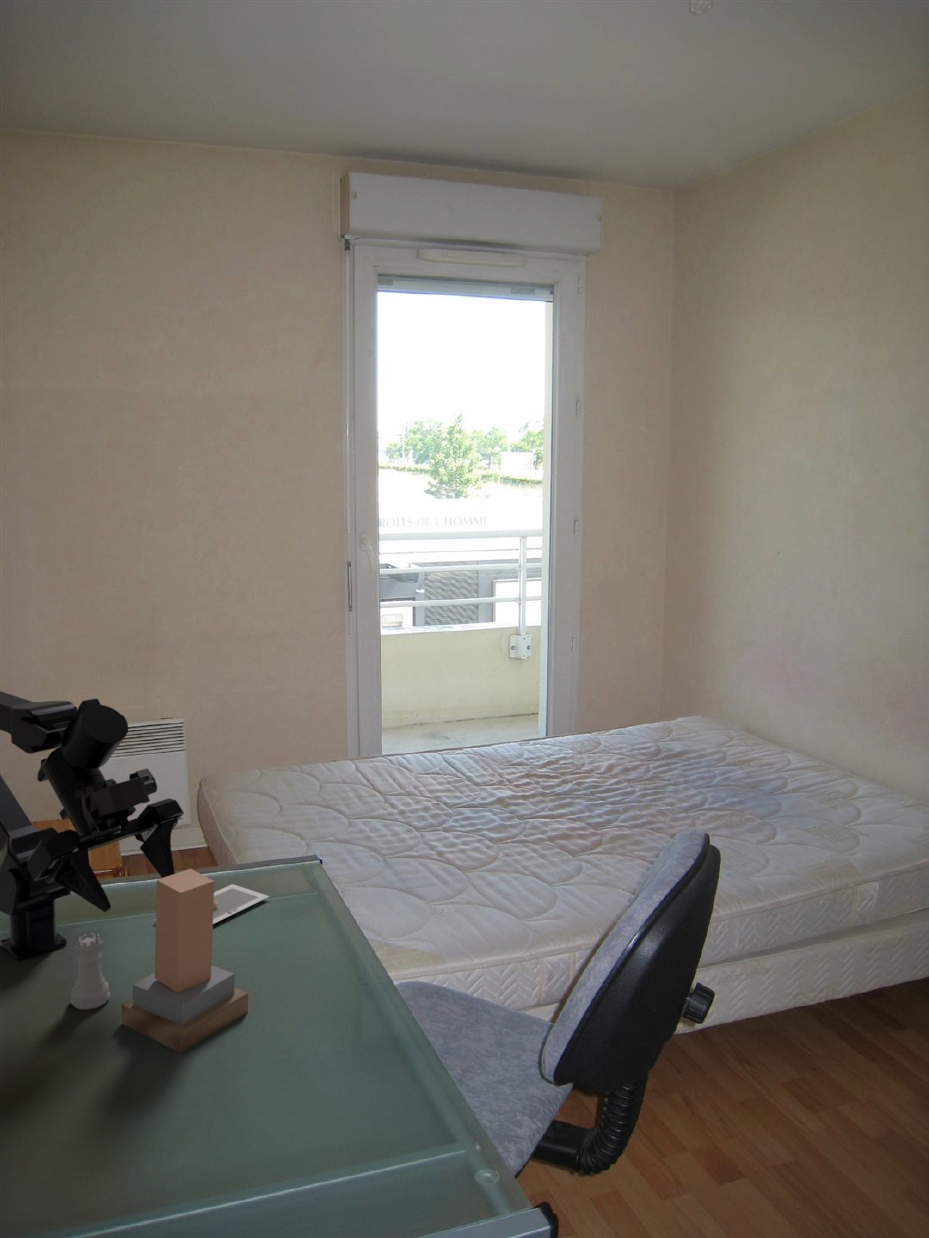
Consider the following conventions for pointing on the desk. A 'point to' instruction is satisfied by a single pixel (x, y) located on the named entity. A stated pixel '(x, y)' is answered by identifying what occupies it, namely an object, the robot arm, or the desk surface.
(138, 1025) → the tower base
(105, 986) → the rook chess piece
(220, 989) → the tower top
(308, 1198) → the desk surface
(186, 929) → the pillar
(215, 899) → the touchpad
